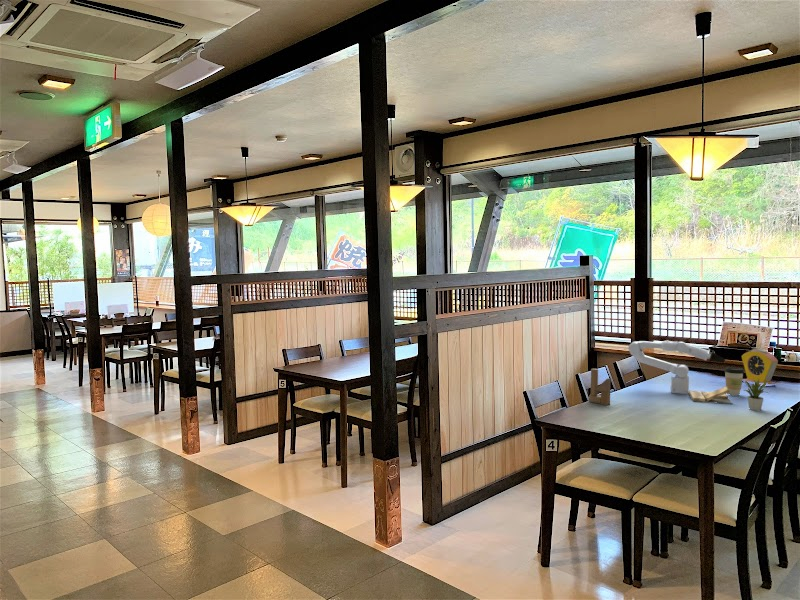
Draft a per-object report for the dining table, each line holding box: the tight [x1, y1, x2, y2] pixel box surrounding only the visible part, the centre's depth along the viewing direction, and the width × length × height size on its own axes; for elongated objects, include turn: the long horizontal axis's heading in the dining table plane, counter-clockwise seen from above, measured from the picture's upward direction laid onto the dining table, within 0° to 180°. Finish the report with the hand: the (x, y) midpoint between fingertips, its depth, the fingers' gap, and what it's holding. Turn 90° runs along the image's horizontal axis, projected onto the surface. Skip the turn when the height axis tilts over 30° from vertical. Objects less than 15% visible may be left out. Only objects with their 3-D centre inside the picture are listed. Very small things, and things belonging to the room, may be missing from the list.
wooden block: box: [588, 368, 612, 406], centre depth 321 cm, size 4×11×18 cm, turn 39°
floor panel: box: [688, 390, 733, 405], centre depth 331 cm, size 19×20×2 cm
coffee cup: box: [723, 366, 745, 396], centre depth 340 cm, size 10×10×15 cm
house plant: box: [743, 378, 774, 411], centre depth 305 cm, size 14×14×16 cm
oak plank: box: [704, 385, 730, 401], centre depth 325 cm, size 12×9×1 cm
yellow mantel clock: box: [741, 348, 779, 384], centre depth 369 cm, size 22×9×22 cm, turn 17°
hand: (724, 360), depth 335 cm, fingers open, 7 cm apart
